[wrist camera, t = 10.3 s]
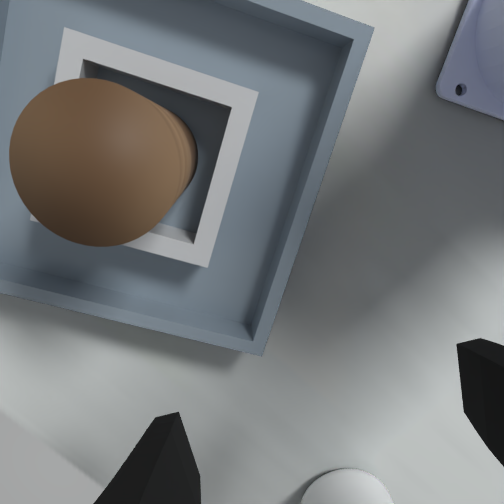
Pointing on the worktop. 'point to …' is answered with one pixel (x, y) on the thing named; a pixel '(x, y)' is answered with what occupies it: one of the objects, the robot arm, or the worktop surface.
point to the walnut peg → (99, 161)
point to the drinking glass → (347, 489)
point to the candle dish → (209, 153)
